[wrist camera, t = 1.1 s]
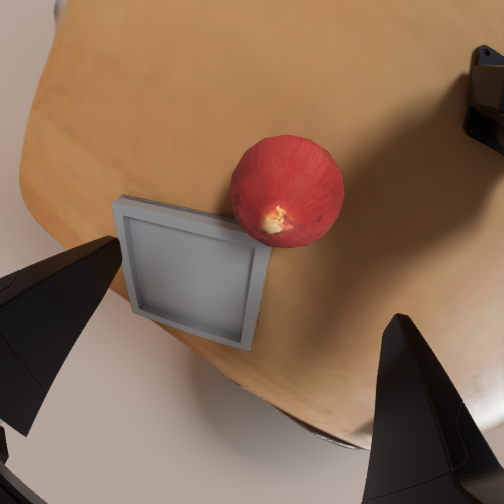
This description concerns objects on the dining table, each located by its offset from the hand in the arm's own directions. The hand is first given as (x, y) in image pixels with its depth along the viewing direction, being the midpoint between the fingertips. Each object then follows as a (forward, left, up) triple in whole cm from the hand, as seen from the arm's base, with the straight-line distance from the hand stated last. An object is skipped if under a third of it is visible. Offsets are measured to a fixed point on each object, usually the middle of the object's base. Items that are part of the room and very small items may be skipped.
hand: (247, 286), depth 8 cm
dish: (+7, +11, -11) cm, 17 cm away
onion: (0, 0, -12) cm, 12 cm away
